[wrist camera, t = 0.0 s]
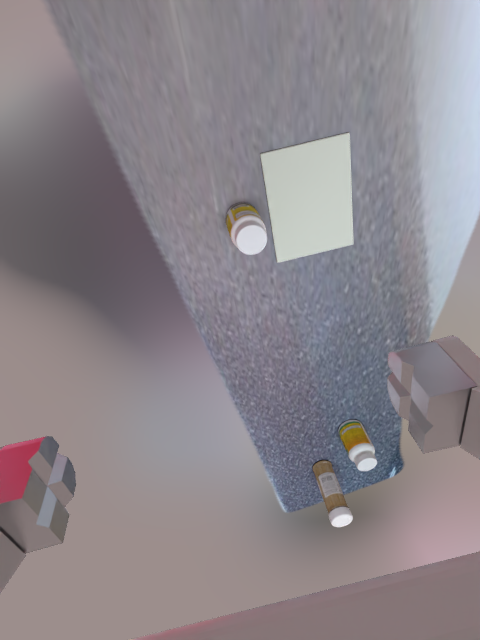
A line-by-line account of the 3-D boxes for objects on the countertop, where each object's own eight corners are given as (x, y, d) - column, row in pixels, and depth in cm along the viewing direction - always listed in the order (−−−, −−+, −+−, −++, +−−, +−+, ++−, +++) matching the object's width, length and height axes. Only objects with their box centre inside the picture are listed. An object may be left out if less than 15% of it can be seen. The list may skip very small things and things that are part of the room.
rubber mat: (259, 153, 52) (260, 154, 52) (348, 132, 52) (349, 132, 52) (276, 261, 61) (277, 262, 61) (352, 243, 61) (353, 244, 61)
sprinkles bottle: (310, 472, 93) (329, 529, 82) (313, 460, 90) (333, 516, 79) (329, 470, 93) (351, 526, 82) (332, 458, 91) (355, 514, 80)
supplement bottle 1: (244, 240, 59) (254, 264, 52) (218, 222, 57) (225, 245, 50) (264, 214, 57) (277, 235, 50) (238, 194, 55) (248, 214, 48)
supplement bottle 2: (366, 425, 86) (385, 463, 78) (346, 439, 88) (363, 477, 80) (352, 414, 84) (371, 452, 76) (332, 428, 85) (349, 466, 77)
